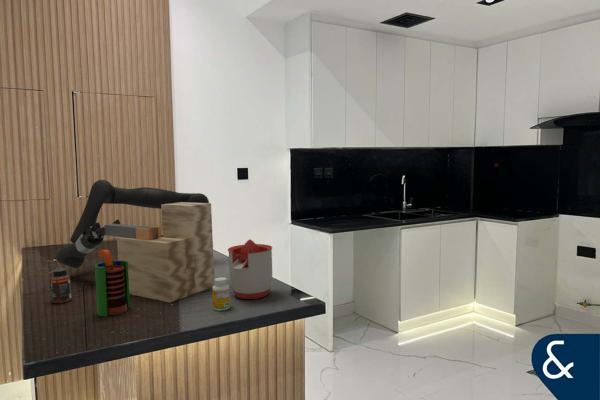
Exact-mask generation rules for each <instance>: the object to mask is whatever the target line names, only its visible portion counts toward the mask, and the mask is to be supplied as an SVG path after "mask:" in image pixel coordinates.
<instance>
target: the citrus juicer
mask: <svg viewBox="0 0 600 400" xmlns="http://www.w3.org/2000/svg"><path fill="white" fill-rule="evenodd" d="M272 249H273V246H272V245H269V244H261V243H255V241H253V240H252V239H248V240H246V242H245V243H244V244H239V245H234V246H230V247H229V248H227V251H228V266H229V267H228V269H229V270H228V271H229V280H230V285H231V288H232V291H233V293H234V295H235V297H236V298H239V299H243V300H244V299H246V300H258V299H261V298H263V297H266V296H267V295H269V292H270V289H271V285H272V282H273V281H272V280H273V252H272Z"/></svg>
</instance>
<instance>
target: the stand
mask: <svg viewBox="0 0 600 400" xmlns="http://www.w3.org/2000/svg"><path fill="white" fill-rule="evenodd" d="M160 210H161V226H162V227H161V229H162V236H161V238H157V239H152V240H138V239H135V238H126V237H116V244H117V258H118V259H117V260H123V261H128V276H129V295H132V296H138V297H142V298H147V299H151V300H156V301H160V302H161V301H162V302H165V303H173V302H175V301H178V300H181V299H183V298H186V297H188V296H192V295H196V294H197V293H201V292H204V291H206V290H208V289H212V288H213V286H214V285H215V284H214V279H215V258H214V241H213V240H214V237H213V220H212V219H213V217H212V203H211V202H209V203H189V202H179V203H171V204H163V205H161V209H160Z"/></svg>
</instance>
